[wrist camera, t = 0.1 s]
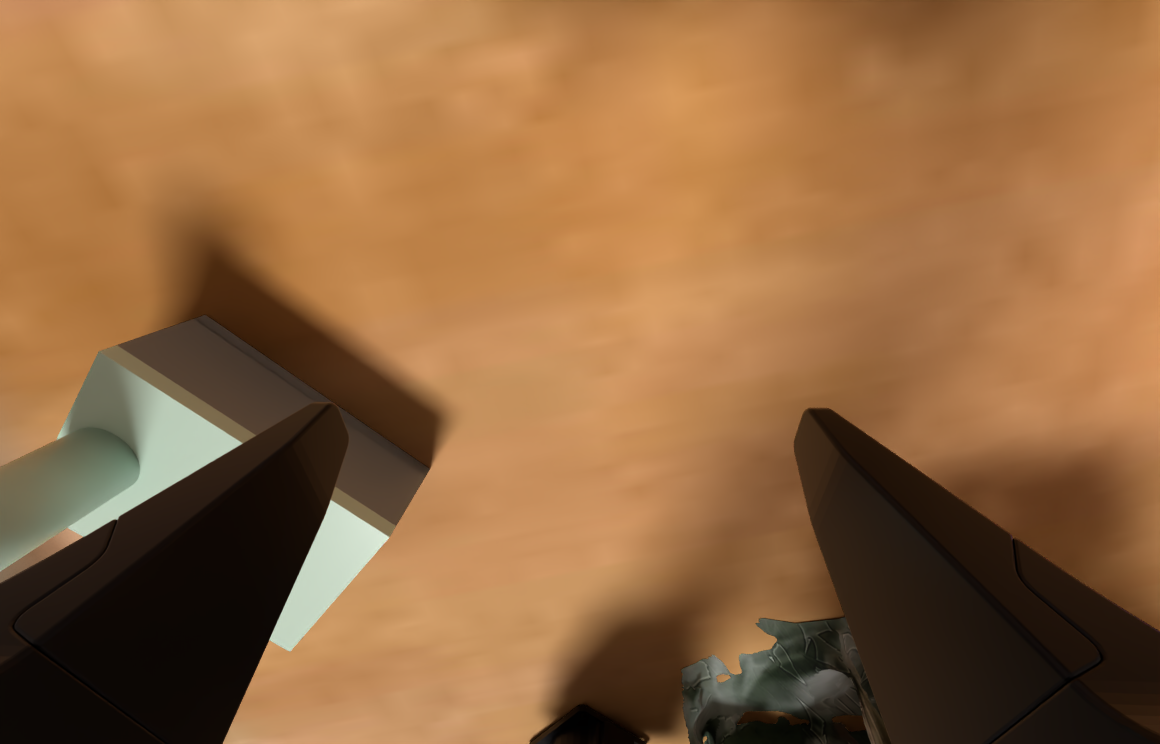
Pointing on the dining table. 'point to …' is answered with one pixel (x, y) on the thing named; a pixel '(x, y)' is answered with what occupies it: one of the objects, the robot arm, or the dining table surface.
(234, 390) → the parts tub
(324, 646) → the dining table surface
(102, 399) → the pale green stand
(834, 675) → the rose bouquet
